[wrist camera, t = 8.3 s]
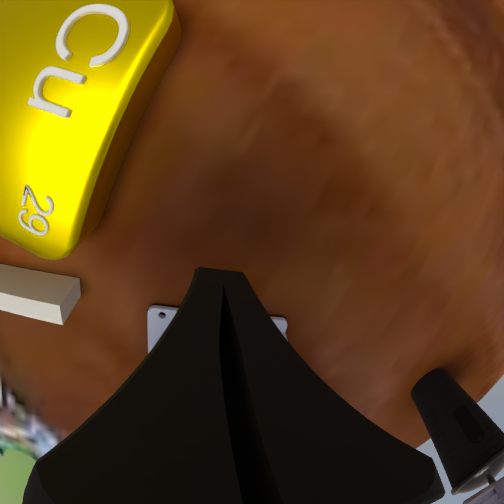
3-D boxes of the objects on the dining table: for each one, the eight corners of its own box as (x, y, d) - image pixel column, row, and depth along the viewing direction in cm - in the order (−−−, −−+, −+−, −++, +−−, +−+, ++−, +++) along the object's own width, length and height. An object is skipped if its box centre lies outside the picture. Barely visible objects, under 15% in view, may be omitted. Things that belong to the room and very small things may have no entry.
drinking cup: (387, 406, 28) (460, 550, 10) (430, 355, 26) (532, 502, 7) (426, 406, 30) (494, 523, 12) (464, 361, 28) (551, 478, 9)
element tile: (20, -15, 9) (-14, -34, 5) (196, 22, 13) (191, -11, 9) (-49, 171, 14) (-88, 186, 9) (95, 244, 18) (66, 279, 14)
